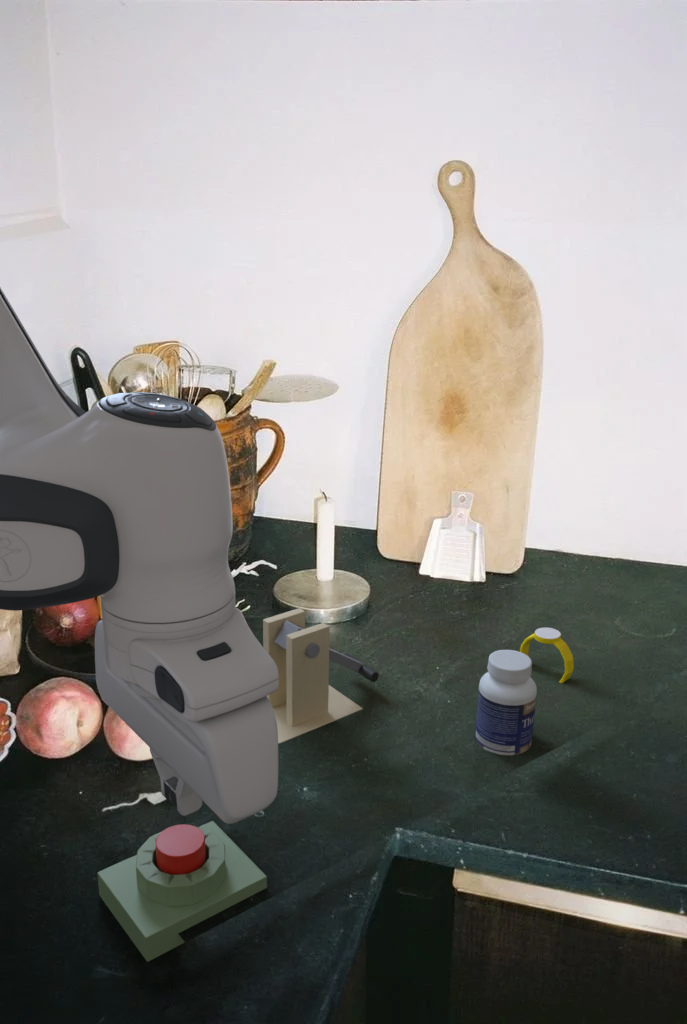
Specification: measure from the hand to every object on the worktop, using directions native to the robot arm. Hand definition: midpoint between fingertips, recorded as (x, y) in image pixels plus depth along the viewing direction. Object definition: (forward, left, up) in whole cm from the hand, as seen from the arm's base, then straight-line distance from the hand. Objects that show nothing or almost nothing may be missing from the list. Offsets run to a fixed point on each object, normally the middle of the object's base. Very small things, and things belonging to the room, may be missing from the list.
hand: (182, 802), depth 68 cm
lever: (+24, +15, -3) cm, 28 cm away
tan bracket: (+21, +15, -9) cm, 27 cm away
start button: (0, 0, -5) cm, 5 cm away
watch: (+47, +5, -9) cm, 48 cm away
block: (0, 0, -9) cm, 9 cm away
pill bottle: (+34, -1, -9) cm, 35 cm away
